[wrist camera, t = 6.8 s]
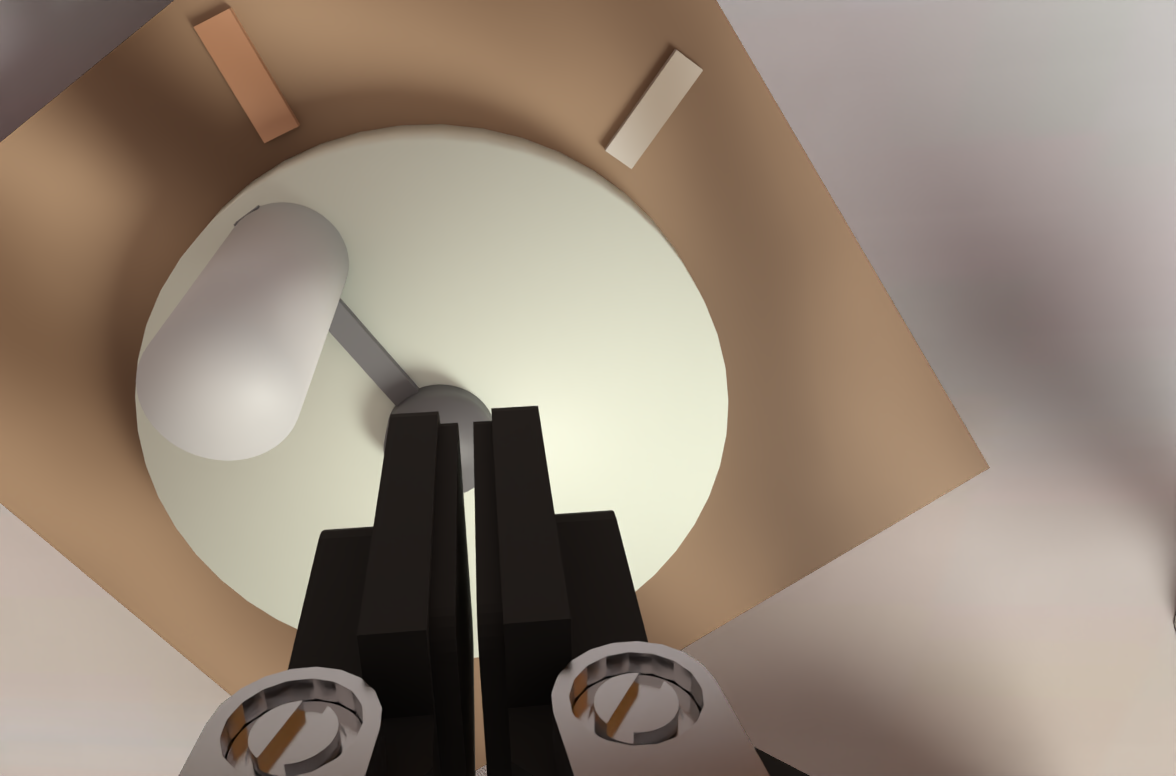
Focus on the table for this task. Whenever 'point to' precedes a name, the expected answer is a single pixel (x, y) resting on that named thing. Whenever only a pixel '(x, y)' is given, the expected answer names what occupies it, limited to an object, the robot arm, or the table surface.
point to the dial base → (471, 99)
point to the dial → (423, 349)
